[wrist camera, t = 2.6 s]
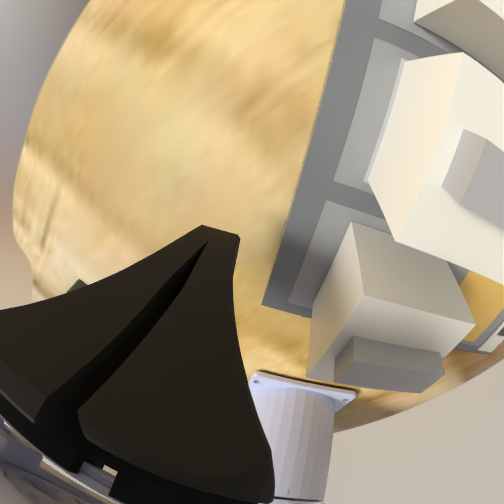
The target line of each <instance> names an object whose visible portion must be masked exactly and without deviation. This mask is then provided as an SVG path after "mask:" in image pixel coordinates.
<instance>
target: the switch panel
mask: <svg viewBox="0 0 504 504" xmlns="http://www.w3.org/2000/svg"><path fill="white" fill-rule="evenodd" d="M416 3H417V0H344V4H343V9H342V13H341V17H340V22H339V26H338V30H337V34H336V39H335V43H334V47H333V51H332V55H331V59H330V63H329V67H328V71H327V75H326V79H325V83H324V87H323V91H322V94H321V98H320V102H319V106H318V110H317V113H316V117H315V121H314V125H313V128H312V132H311V136H310V139H309V143H308V146H307V150H306V154H305V157H304V161H303V164H302V168H301V171H300V175H299V178H298V182H297V185H296V189H295V192H294V196H293V199H292V203H291V206H290V209H289V213H288V216H287V219H286V223H285V226H284V229H283V233H282V236H281V239H280V243H279V246H278V249H277V253H276V256H275V259H274V262H273V266H272V269H271V272H270V275H269V278H268V282H267V285H266V289H265V293H264V297H263V300H262V304H261V305H264V306H268V307H271V308H275V309H278V310H282V311H286V312H289V313H293V314H297V315H301V316H304V317H308V318H312V308H313V302H314V300H315V298H316V296H317V294H318V292H319V290H320V288H321V286H322V284H323V282H324V280H325V278H326V276H327V273H328V271H329V269H330V267H331V265H332V263H333V261H334V259H335V256H336V254H337V252H338V250H339V247H340V245H341V243H342V241H343V238H344V236H345V234H346V232H347V229H348V227H349V225H350V222H351V221H353V222H356V223H359V224H362V225H365V226H368V227H371V228H374V229H377V230H379V231H382V232H385V233H388V234H391V235H392V233H391V230H390V228H389V226H388V223H387V221H386V219H385V216H384V214H383V212H382V210H381V207H380V205H379V203H378V201H377V199H376V197H375V195H374V193H373V191H372V188H371V186H370V184H369V182H368V177H369V175H370V172H371V169H372V166H373V164H374V161H375V158H376V155H377V153H378V150H379V147H380V144H381V141H382V138H383V135H384V132H385V129H386V126H387V123H388V119H389V116H390V113H391V110H392V106H393V103H394V100H395V96H396V93H397V89H398V86H399V82H400V78H401V74H402V70H403V66H404V62H406V61H411V60H416V59H421V58H426V57H432V56H438V55H444V54H452V53H460V52H464V53H465V54H467V55H468V56H470V57H471V58H472V59H474V60H475V61H477V62H478V63H479V64H481V65H482V66H483V67H485V68H486V69H487V70H489V69H488V68H487V67H486V66H484V65H483V64H482V63H480V62H479V61H478V60H476V59H475V58H473V57H472V56H471V55H469V54H468V53H466V52H465V51H463V50H462V49H460V48H459V47H457V46H456V45H454V44H452V43H451V42H449V41H447V40H446V39H444V38H442V37H441V36H439V35H437V34H435V33H434V32H432V31H430V30H428V29H426V28H424V27H422V26H420V25H418V24H416V23H414V22H413V21H414V15H415V9H416ZM489 71H490V72H491V73H492V74H494V75H495V76H496V77H497V78H499V77H498V76H497V75H496V74H495V73H493V72H492V71H491V70H489ZM499 79H500V80H501V81H502V82H503V83H504V81H503V80H502V79H501V78H499ZM447 263H448V265H449V267H450V269H451V271H452V273H453V275H454V277H455V279H456V281H457V283H458V285H459V287H460V289H461V291H462V293H463V296H464V298H465V300H466V302H467V305H468V307H469V309H470V312H471V314H472V316H473V319H474V321H475V324H476V325H475V326H474V328H473V329H472V330H471V331H470V332H469V333H468V334H467V335H466V336H465V337H464V338H463V339H462V340H461V341H460V342H459V344H458V345H457V346H456V347H455V348H454V349H456V350H462V351H468V352H474V353H481V354H488V355H489V354H490V353H491V352H492V351H493V350H494V349H495V348H496V347H497V346H498V345H499V344H500V343H501V342H502V341H503V340H504V285H503V284H500V283H498V282H496V281H494V280H491V279H489V278H487V277H485V276H482V275H480V274H478V273H475V272H473V271H471V270H468V269H466V268H463V267H461V266H459V265H456V264H454V263H451V262H449V261H447Z"/></svg>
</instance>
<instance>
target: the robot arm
mask: <svg viewBox="0 0 504 504" xmlns="http://www.w3.org/2000/svg"><path fill="white" fill-rule="evenodd" d="M239 243H240V238H239V236H238V235H237V234H233V233H229V232H226V231H222V230H219V229H215V228H211V227H208V226H204V225H201V226H199V227H197V228H195V229H194V230H192V231H190V232H189V233H187V234H185V235H184V236H182V237H180V238H179V239H177V240H175V241H174V242H172V243H170V244H169V245H167V246H165V247H164V248H162V249H160V250H159V251H157V252H155V253H154V254H152V255H150V256H148V257H146V258H144V259H142V260H141V261H139V262H137V263H135V264H133V265H131V266H130V267H128V268H126V269H124V270H122V271H119V272H117V273H115V274H113V275H111V276H109V277H106V278H104V279H102V280H100V281H97V282H95V283H92V284H90V285H87V286H84V287H81V288H79V289H76V290H73V291H71V292H68V293H65V294H62V295H59V296H56V297H53V298H50V299H46V300H43V301H39V302H35V303H32V304H28V305H24V306H19V307H14V308H9V309H3V310H0V504H116V503H114V502H112V501H110V500H108V499H106V498H104V497H102V496H100V495H98V494H96V493H94V492H92V491H90V490H89V489H87V488H85V487H83V486H81V485H79V484H78V483H76V482H74V481H73V480H71V479H69V478H68V477H66V476H64V475H63V474H61V473H60V472H58V471H57V470H55V469H53V468H52V467H51V466H49V465H48V464H46V463H45V462H43V461H42V459H43V456H45V457H46V458H47V459H48V460H50V461H51V462H53V463H54V464H55V465H56V466H58V467H59V468H61V469H62V470H63V471H65V472H66V473H68V474H69V475H71V476H72V477H74V478H75V479H77V480H79V481H80V482H82V483H83V484H85V485H87V486H88V487H90V488H92V489H93V490H95V491H97V492H99V493H100V494H102V495H104V496H106V497H108V498H110V499H112V500H114V501H116V502H118V503H120V504H324V503H322V502H320V501H324V496H325V490H326V484H327V477H328V470H329V462H330V455H331V447H332V438H333V427H334V416H335V413H336V412H338V411H339V410H340V409H341V408H343V407H344V406H345V405H347V404H348V403H349V402H350V401H352V400H353V399H354V398H355V397H356V392H355V391H352V390H345V389H339V388H333V387H328V386H322V385H317V384H312V383H307V382H302V381H297V380H293V379H288V378H284V377H280V376H276V375H272V374H268V373H264V372H259V371H256V372H253V374H252V376H251V378H250V380H249V382H248V381H247V377H246V373H245V369H244V365H243V361H242V357H241V352H240V347H239V341H238V336H237V329H236V322H235V314H234V302H233V274H234V269H235V264H236V259H237V253H238V248H239ZM4 421H5V422H6V423H7V424H8V425H9V426H10V427H11V428H12V429H13V430H12V429H11V428H9V427H8V426H7V425H5V424H4ZM42 455H43V456H42ZM104 465H106V466H108V467H110V468H112V469H114V470H116V471H117V472H118V473H117V475H116V476H114V475H112V474H110V473H108V472H106V471H104V470H103V467H104ZM301 501H304V502H301ZM318 501H319V502H318Z"/></svg>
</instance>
